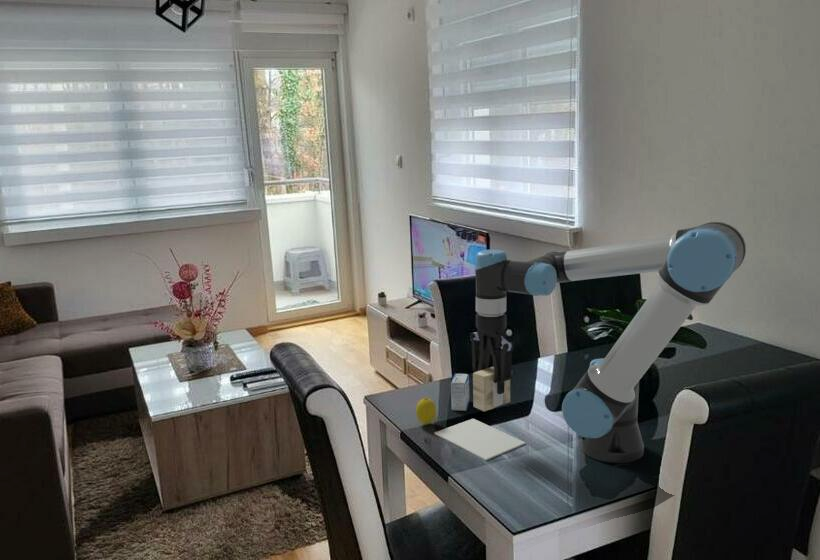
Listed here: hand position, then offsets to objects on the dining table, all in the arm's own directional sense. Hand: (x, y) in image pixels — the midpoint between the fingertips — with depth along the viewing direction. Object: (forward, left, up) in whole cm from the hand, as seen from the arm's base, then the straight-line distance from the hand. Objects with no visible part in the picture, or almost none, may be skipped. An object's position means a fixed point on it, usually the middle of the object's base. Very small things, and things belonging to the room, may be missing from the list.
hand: (491, 401), depth 168 cm
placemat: (+5, 0, -12) cm, 13 cm away
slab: (0, 0, -1) cm, 1 cm away
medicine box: (+25, -11, -12) cm, 30 cm away
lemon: (+21, +5, -12) cm, 25 cm away
